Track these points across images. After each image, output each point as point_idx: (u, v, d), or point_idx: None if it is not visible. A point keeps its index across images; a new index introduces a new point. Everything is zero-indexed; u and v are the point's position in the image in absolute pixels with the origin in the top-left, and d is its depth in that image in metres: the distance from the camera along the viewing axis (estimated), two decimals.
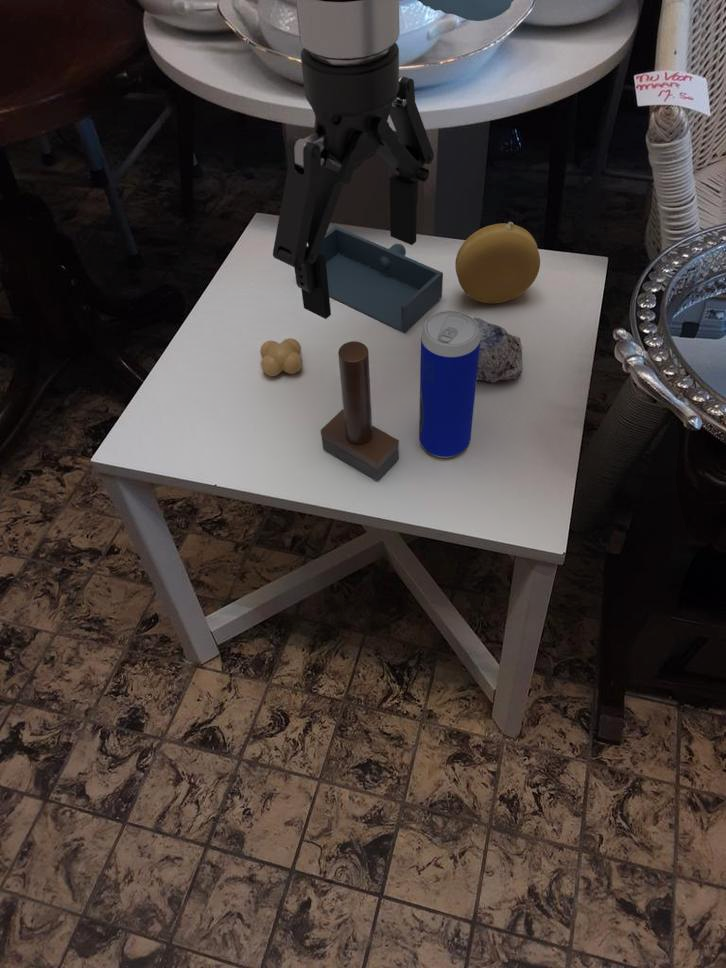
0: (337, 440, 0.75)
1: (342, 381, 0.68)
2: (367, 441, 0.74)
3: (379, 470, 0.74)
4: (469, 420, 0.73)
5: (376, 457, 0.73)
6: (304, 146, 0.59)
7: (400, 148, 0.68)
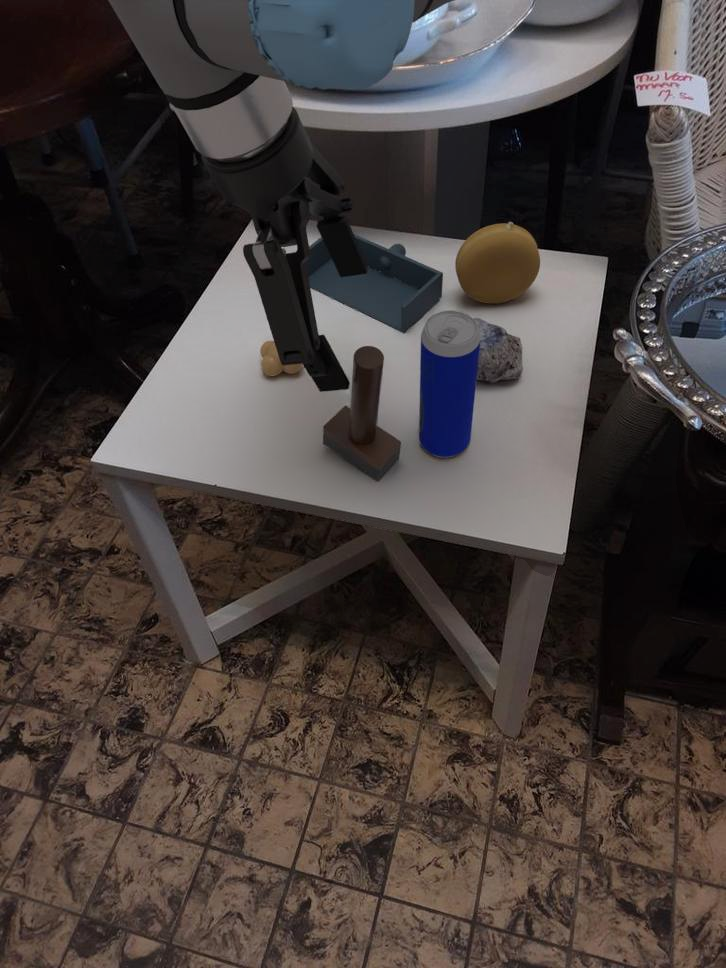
0: (339, 438, 0.74)
1: (354, 384, 0.68)
2: (370, 441, 0.74)
3: (381, 471, 0.74)
4: (469, 420, 0.73)
5: (379, 459, 0.73)
6: (263, 248, 0.55)
7: (322, 194, 0.64)
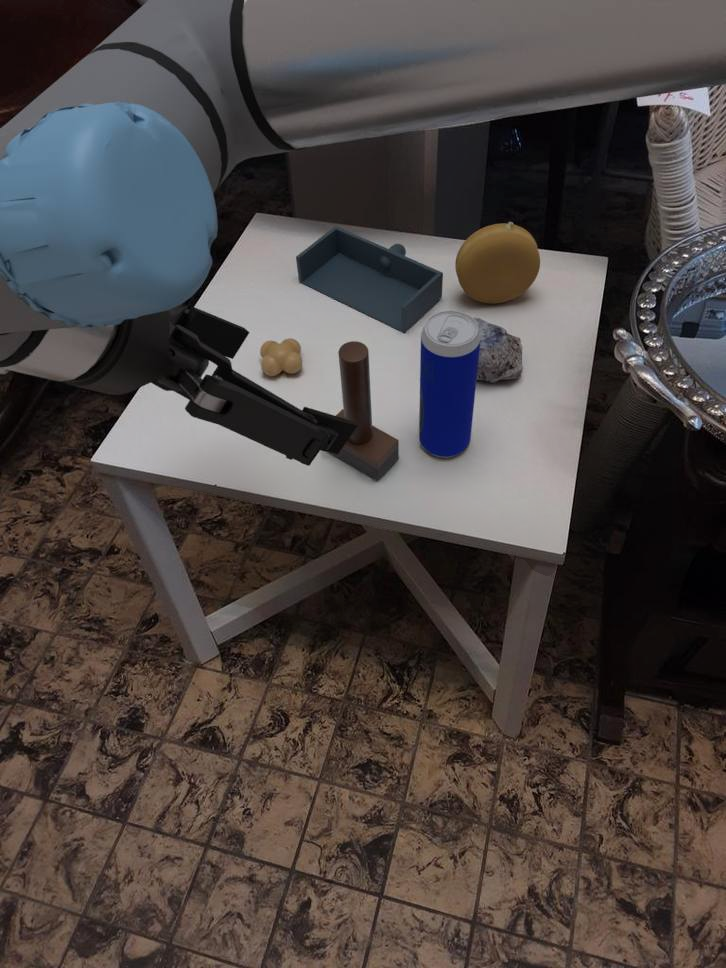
0: None
1: (342, 381, 0.68)
2: (367, 441, 0.74)
3: (379, 470, 0.74)
4: (469, 420, 0.73)
5: (376, 457, 0.73)
6: (206, 392, 0.45)
7: None
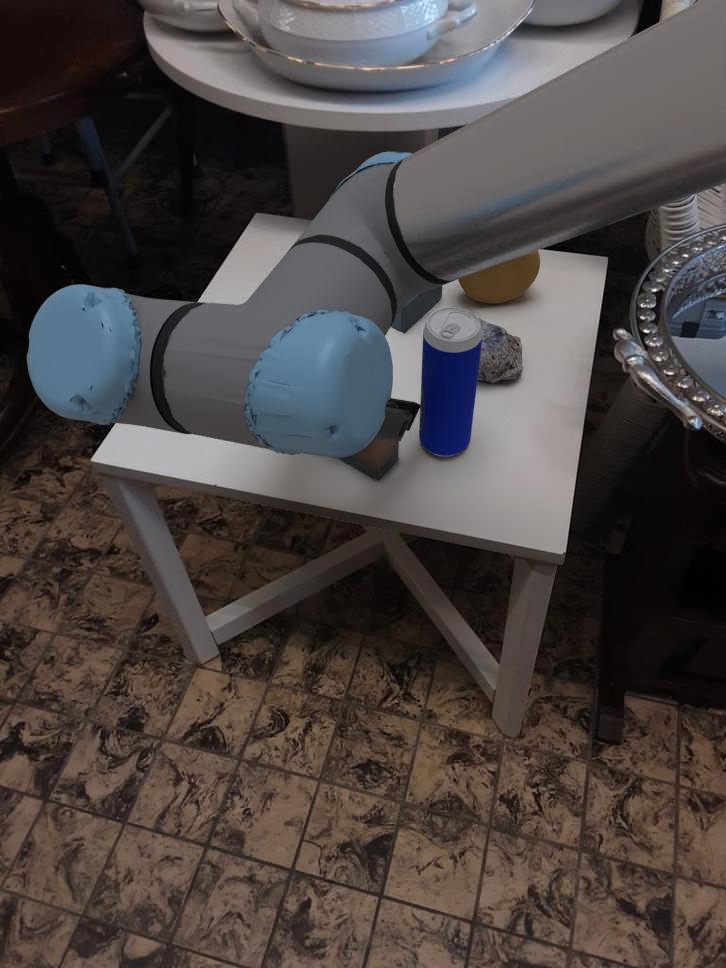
0: None
1: None
2: None
3: (379, 470, 0.74)
4: (470, 418, 0.73)
5: (376, 457, 0.73)
6: None
7: None
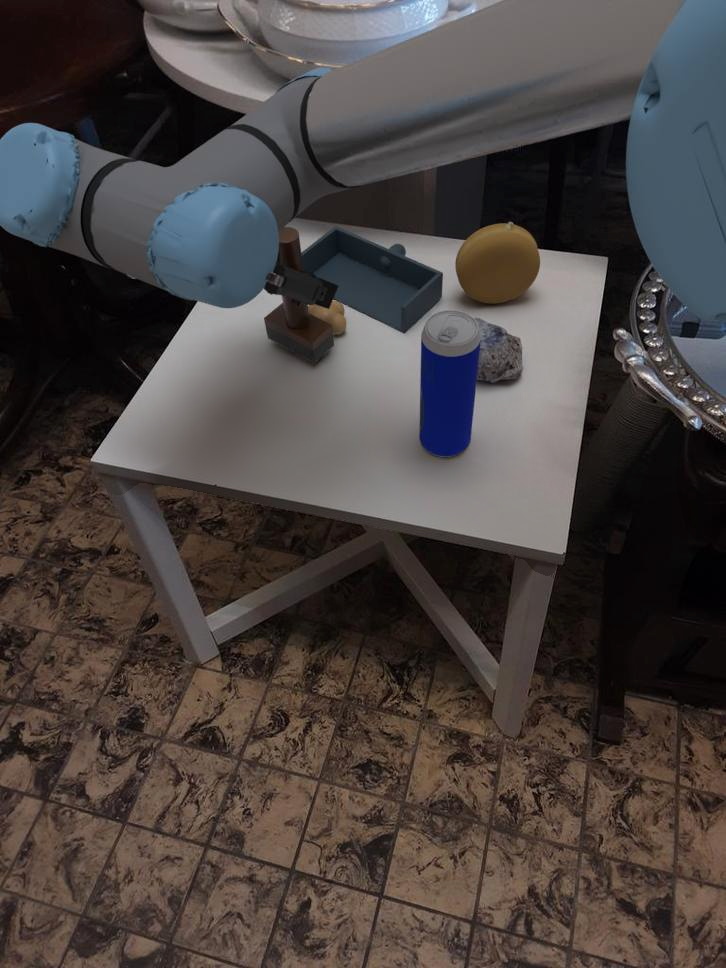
0: (278, 325, 0.84)
1: None
2: (304, 326, 0.83)
3: (315, 352, 0.83)
4: (469, 420, 0.73)
5: (312, 338, 0.82)
6: (280, 276, 0.67)
7: None
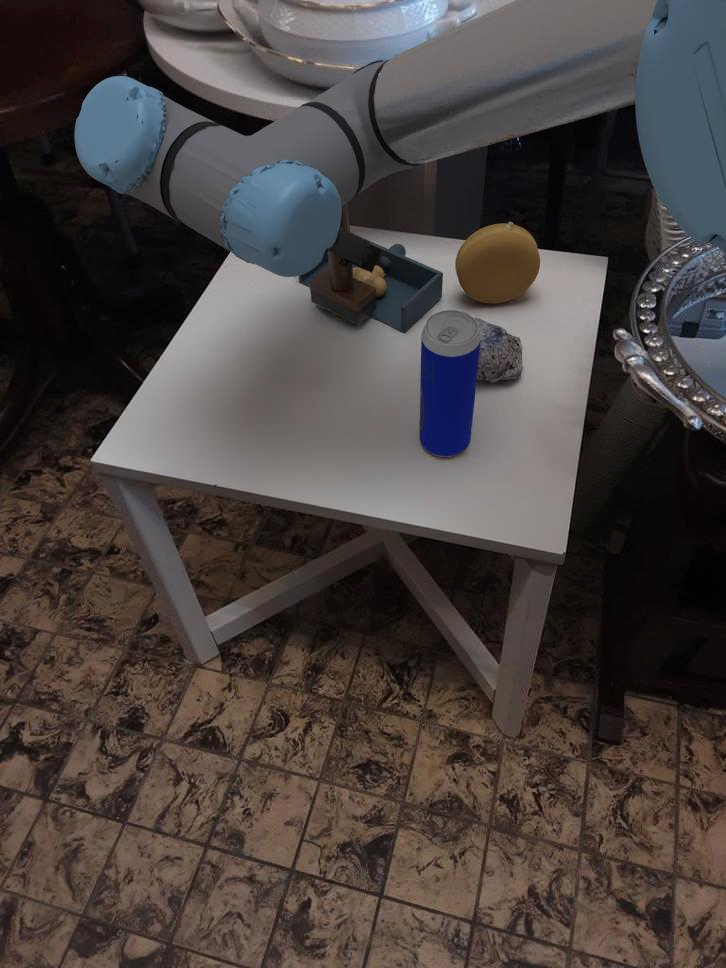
0: (323, 288, 0.87)
1: None
2: (349, 288, 0.87)
3: (359, 313, 0.87)
4: (469, 420, 0.73)
5: (356, 300, 0.86)
6: None
7: None
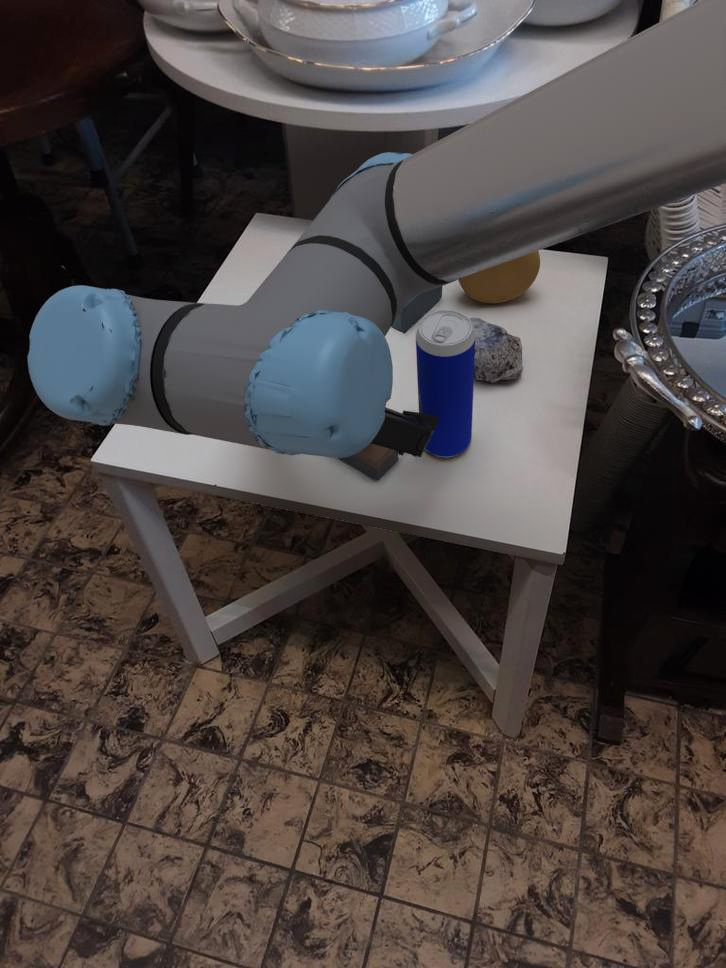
0: None
1: None
2: None
3: (379, 470, 0.74)
4: (469, 419, 0.73)
5: (375, 457, 0.73)
6: None
7: None
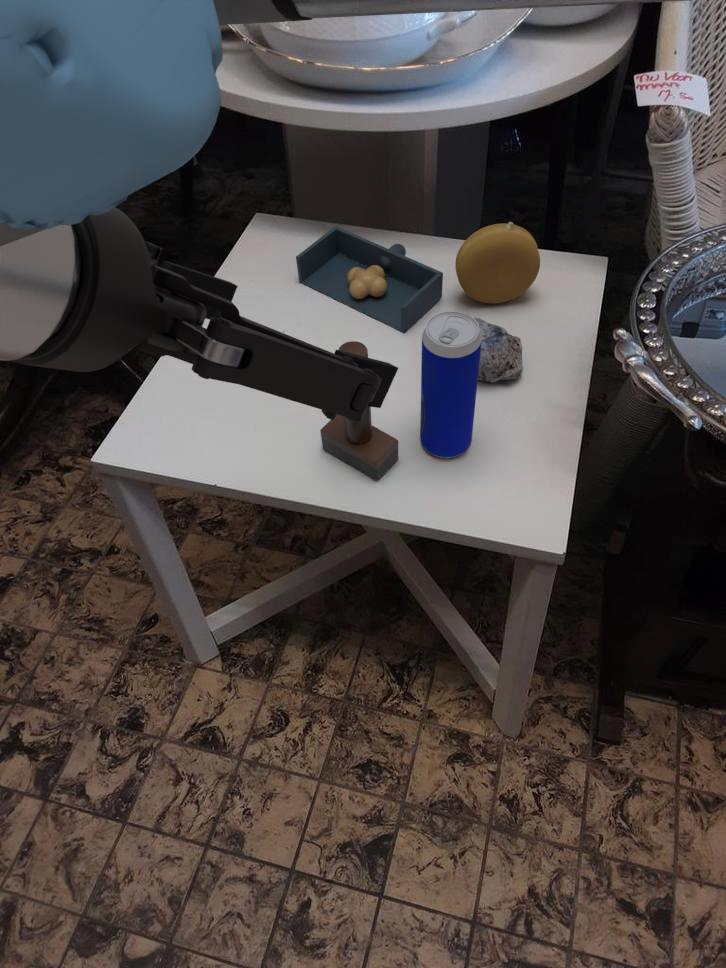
0: (336, 440, 0.75)
1: None
2: (367, 441, 0.74)
3: (379, 470, 0.74)
4: (470, 420, 0.73)
5: (376, 457, 0.73)
6: (217, 341, 0.33)
7: None
